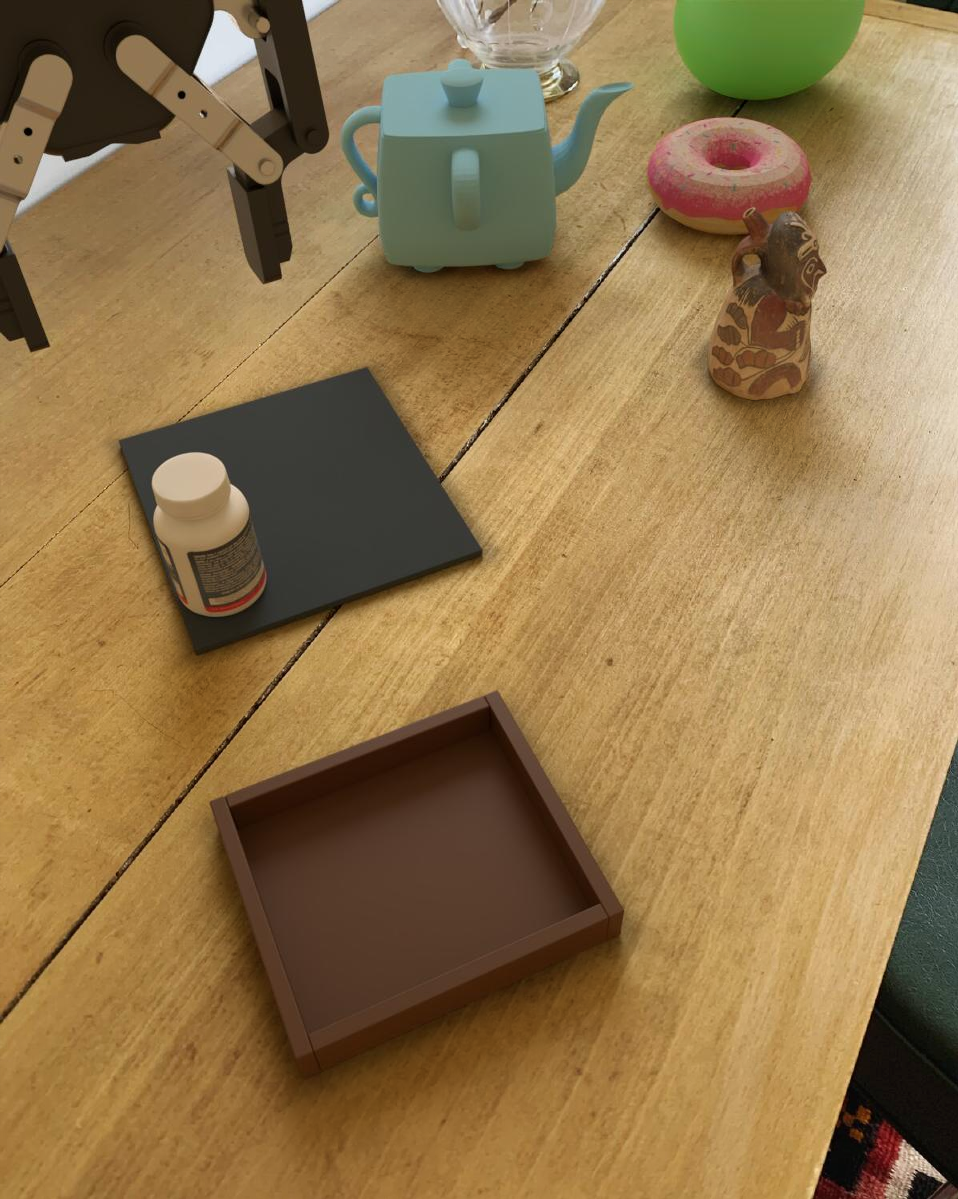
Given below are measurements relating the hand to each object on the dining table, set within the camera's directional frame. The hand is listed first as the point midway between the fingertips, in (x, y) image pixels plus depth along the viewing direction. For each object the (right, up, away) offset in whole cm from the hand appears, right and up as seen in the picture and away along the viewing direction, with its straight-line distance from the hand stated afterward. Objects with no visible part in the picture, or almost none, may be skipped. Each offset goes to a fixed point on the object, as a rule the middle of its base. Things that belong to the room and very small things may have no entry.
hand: (154, 305), depth 40 cm
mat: (0, -4, +31) cm, 32 cm away
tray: (+9, -24, +14) cm, 29 cm away
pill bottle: (-3, -10, +26) cm, 28 cm away
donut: (+32, +23, +53) cm, 66 cm away
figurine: (+32, +6, +39) cm, 50 cm away
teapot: (+13, +19, +51) cm, 56 cm away
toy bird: (+38, +39, +67) cm, 86 cm away
